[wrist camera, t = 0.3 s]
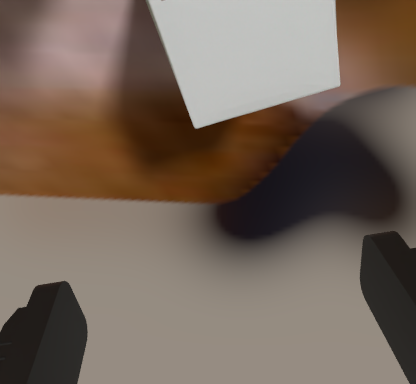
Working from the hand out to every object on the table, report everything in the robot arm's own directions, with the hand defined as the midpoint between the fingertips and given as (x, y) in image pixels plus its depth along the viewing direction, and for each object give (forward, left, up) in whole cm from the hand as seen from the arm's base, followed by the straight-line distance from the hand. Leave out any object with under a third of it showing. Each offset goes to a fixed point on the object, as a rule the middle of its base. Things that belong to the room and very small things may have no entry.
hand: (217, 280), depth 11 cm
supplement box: (-4, +1, -22) cm, 23 cm away
